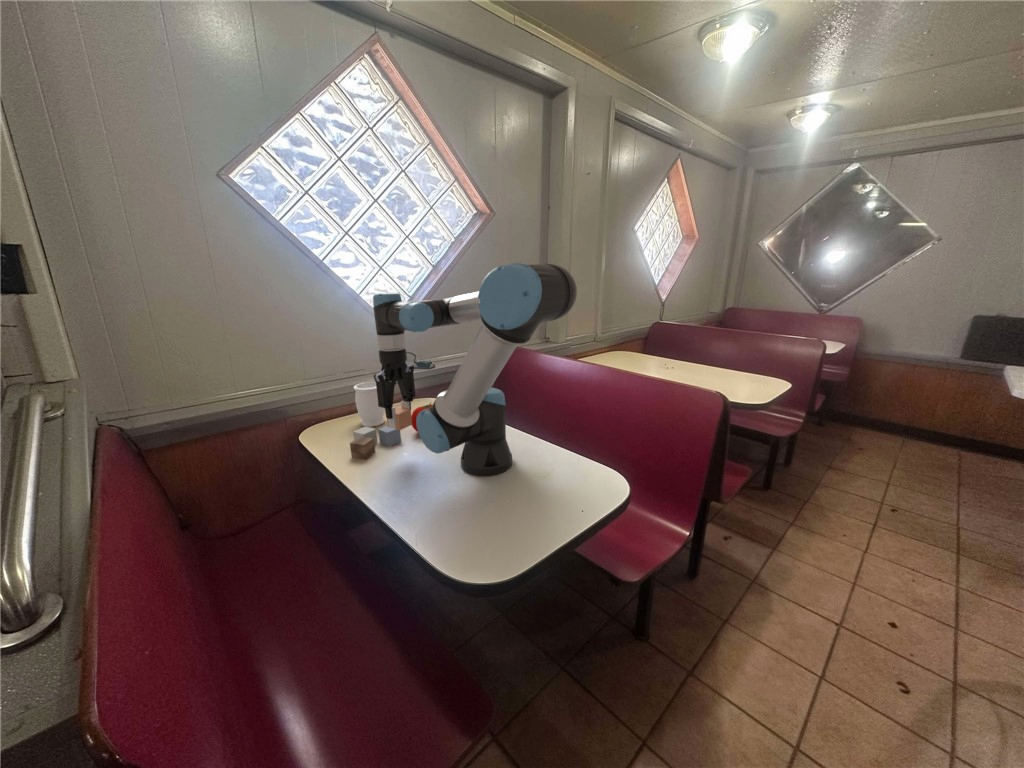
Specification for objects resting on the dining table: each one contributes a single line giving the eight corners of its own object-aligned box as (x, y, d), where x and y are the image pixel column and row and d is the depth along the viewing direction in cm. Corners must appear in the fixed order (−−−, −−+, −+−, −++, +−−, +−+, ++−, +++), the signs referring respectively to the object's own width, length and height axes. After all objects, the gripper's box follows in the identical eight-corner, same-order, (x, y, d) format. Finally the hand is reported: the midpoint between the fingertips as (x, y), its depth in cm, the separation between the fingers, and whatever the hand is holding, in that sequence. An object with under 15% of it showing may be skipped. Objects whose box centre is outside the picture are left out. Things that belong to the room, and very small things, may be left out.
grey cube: (377, 442, 133) (375, 429, 131) (365, 448, 129) (363, 434, 127) (367, 439, 135) (365, 426, 134) (355, 445, 131) (353, 431, 130)
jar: (359, 419, 153) (354, 382, 149) (387, 416, 156) (383, 380, 152) (357, 429, 143) (352, 390, 139) (387, 426, 146) (383, 387, 142)
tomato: (451, 434, 138) (449, 407, 135) (414, 441, 134) (412, 412, 131) (444, 423, 148) (442, 397, 145) (410, 429, 144) (407, 402, 141)
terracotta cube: (412, 424, 120) (410, 409, 119) (399, 430, 116) (398, 414, 114) (400, 421, 123) (398, 406, 121) (387, 427, 118) (386, 411, 117)
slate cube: (401, 441, 133) (399, 428, 132) (388, 446, 130) (386, 432, 128) (392, 437, 136) (391, 424, 135) (379, 442, 133) (378, 428, 131)
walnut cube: (375, 452, 126) (373, 438, 124) (365, 459, 121) (363, 444, 120) (361, 451, 127) (359, 436, 126) (351, 457, 122) (349, 443, 121)
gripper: (405, 342, 122) (412, 413, 128) (357, 353, 107) (367, 432, 113) (424, 344, 118) (430, 417, 125) (376, 355, 103) (385, 437, 110)
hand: (400, 424), depth 119 cm, fingers closed on terracotta cube, 5 cm apart
